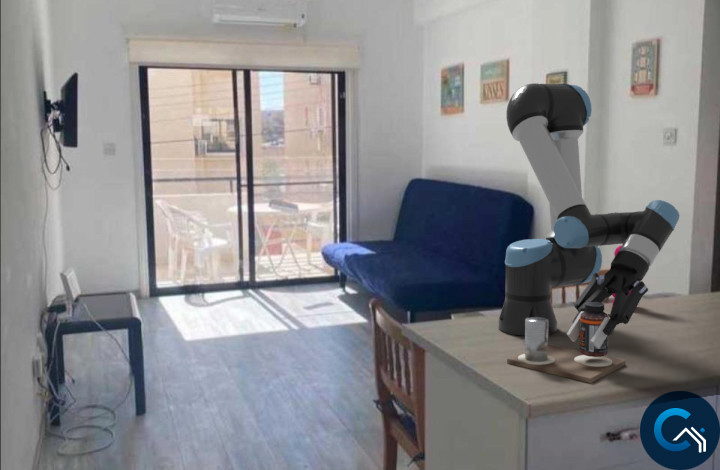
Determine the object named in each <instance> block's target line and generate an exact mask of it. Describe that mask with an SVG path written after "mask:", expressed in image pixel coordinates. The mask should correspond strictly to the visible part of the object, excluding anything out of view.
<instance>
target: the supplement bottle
mask: <svg viewBox="0 0 720 470" xmlns="http://www.w3.org/2000/svg"><path fill="white" fill-rule="evenodd" d="M605 317H608V318H609V319H610V317H609V316H608V313H606V312H605V304H604V303H603V302H602V303H600V302H587V303H585V311H584V312H583V313H582V314H581V316H580V335H579V351H580V352H581V353H582V354H584V355H586V356H590V357H591V356H592V357H602V356H607V355H608V353H609V336H608V335H607V337H606V339H605V340H604V342H603V344H602V345H601V347H600V348H599V349H597V348H596V347H595V346H594V345H593V344H592V342H591V339H592V337H593V336H594V334H595V333H596V331H597V329H598V328H599V326H600V325H601V323H602V321H603V320H604V318H605Z"/></svg>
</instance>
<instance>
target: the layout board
mask: <svg viewBox="0 0 720 470" xmlns="http://www.w3.org/2000/svg"><path fill="white" fill-rule="evenodd" d="M506 363H507V364H509V365H514V366H518V367H523V368H527V369H531V370H535V371H538V372H542V373H548V374H550V375H551V374H552V375H555V376H559V377H564V378H567V379H571V380H575V381H578V382H579V381H580V382H584V383H588V384H592V383H595V381H597V380H599V379H601V378H603V377H605V376H607V375H608V374H610V373H612V372H614V371H616V370H617V369H620V368H621V367H624V366H625V365H626V360H625V359H620V358H615V357H611V356H607V355H605V356H602V357H592V356H591V357H590V356H586V355H584V354H582V353H581V352H580V350H577V349H572V348H568V347H563V346H557V345H554V344H549V343H548V360H547V361H543V362H533V361H528V360H526V359H525V351H522V352H520V353H518V354H515V355H513V356H511V357H508V358H507V359H506Z"/></svg>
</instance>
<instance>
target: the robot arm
mask: <svg viewBox="0 0 720 470" xmlns="http://www.w3.org/2000/svg"><path fill="white" fill-rule="evenodd" d="M506 107H507V108H506V123H507V127H508V130H509V132H510V134H511V137H512V138H513V139H514V141H517V142H519V144H520V145H521V148H522V149H523V152H524V153H525V156H526V158H527V160H528V162H529V164H530V166H531V169H532V170H533V172H534V175H535V177H536V178H537V181H538V182H539V185H540V186H541V189H542V190H543V191H542V192H543V193H544V195H545V197H546V199H547V201H548V203H549V204H548V205H549V206H548V207H549V219H550V232H548V233H547V235H546V236H545V238H532V239H528V238H527V239H522V240H521V239H520V240H517V241H515V242H512V243H510V244H509V245H508V246H507V248H506V249H505V250H506V251H505V260H504V264H505V286H504V287H505V290H504V291H505V292H504V293H505V298H504V302H503V304H502V305H503V306H502V309H501V311H500V314H499V317H498V330H500V331H501V332H503V333H506V334H511V335H515V336H524V337H525V319H526V318H530V317H541V318H546V319H548V336H549V335H551V334H554V333H556V332H557V331H558V320H557V317H556V313H555V310H554V308H553V305H552V301H551V299H552V298H551V296H552V295H551V293H552V288H557V287H558V288H559V287H566V286H579V285H582V284H586V283H588V285H587V286H586V287H585V288H584V290H583V291H582V292H581V294H580V295H579V297H578V299H577V300H576V301H575V303H574V305H573V307H574V308H575V309H576V310H577V313H576V315H575V317H574V318H573V319H572V321H571V322H572V325H571V326H570V328H569V330H568V331H567V332H566V335H567V336H568V338H569V339H570V340H571V342H574V343H576V342H577V339H578V338H579V337H580V316H581V314H582V313H583V312H584V311H585V303H587V302H600V303H603V302H604V301H605V300H606V299H607V298H609V297H611V296H612V294H616V295H615V298H614V299H613V300H614V302H613V301H612V302H613V306H612V307H611V311H610V313H607V315H608V317H609V318H608V317H605V318H604V320H603V321H602V323H601V325H600V326H599V328H598V329H597V331H596V333H595V334H594V336H593V337H592V339H591V342H592V344H593V345H594V346H595V347H596V348H597V349H599V348H600V347H601V345H602V344H603V342H604V340H605V339H606V337H607V335H608V337H610V336H611V335H612V333H613V332H614V331H615V328H616V327H617V326H618V325H620V324H623V325H627V324H628V323H629V322H630V320H631V318H632V316H633V314H634V313H635V311H636V309H637V307H638V305H639V304H640V302H641V300H642V297H644V296H645V294H646V293H647V292H649V287H648V286H647V285H646V283H645V282H644V281H643V279H644V278H645V276H646V275H647V273H648V271H649V269H650V267H651V266H653V265H652V264H653V263H654V261H655V260H656V258H657V256H658V255H659V253H660V252H661V250H662V249H663V247H664V246H665V243H666V242H667V240H668V239H669V237H670V236H671V235H672V233H673V232H674V230H675V228H676V226H677V224H678V222H679V220H680V212H679V210H678V209H677V208H676V207H675V206H674V205H673V204H671V203H670V202H667V201H665V200H661V199H653V200H652V201H651V202H649V203H648V204H647V205H646V206H645V208H644V210H642V211H641V210H640V211H632V212H626V211H625V212H609V213H600V214H598V213H597V214H591V212H590V210H589V207H588V206H587V204H586V202H585V200H584V199H583V192H582V178H581V164H580V149H579V148H580V147H579V138H580V137H581V136H582V135H583V133H584V126H586V125H587V124H588V122H589V120H590V119H589V118H590V117H591V115H592V103H591V99H590V97H589V94H588V93H587V91H586V90H584V89H583V88H582V87H581V86H578V85H576V84H569V83H536V82H535V83H529V84H525V85H523V86H521V87H519V88H518V89H516V90H515V92H514V93H512V95H511V97H510V99H509V101H508V103H507V106H506ZM619 244H620V245H622V247H621V248H620V251H619V252H618V253H617V255H616V256H614V258H613V259H612V260H611V262H610V268H609V270H608V271H606V272H605V273H604V274H600V275H599V273H600V271H601V267H602V263H603V255H602V251H601V248H599V246H600V247H601V246H611V245H619ZM631 290H632V291H631ZM630 291H631V293H630V294H629V292H630Z"/></svg>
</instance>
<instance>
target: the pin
mask: <svg viewBox="0 0 720 470" xmlns="http://www.w3.org/2000/svg"><path fill="white" fill-rule="evenodd" d="M548 344H549V335H548V319H546V318H541V317H530V318H526V319H525V336H524V352H525V359H526V360H528V361H533V362H543V361H547V360H548Z"/></svg>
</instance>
